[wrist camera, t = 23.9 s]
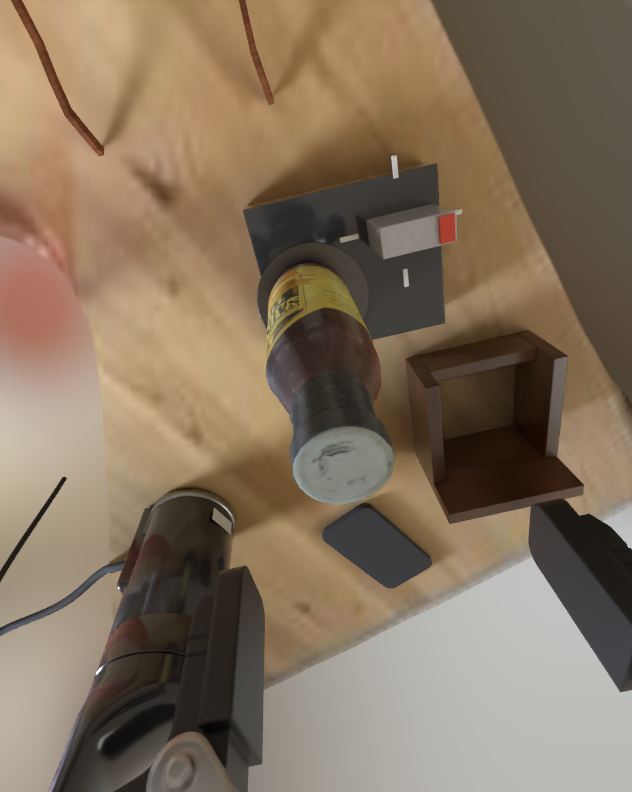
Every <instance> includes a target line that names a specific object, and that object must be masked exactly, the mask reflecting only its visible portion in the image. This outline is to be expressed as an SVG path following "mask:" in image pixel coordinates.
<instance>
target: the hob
mask: <svg viewBox="0 0 632 792" xmlns="http://www.w3.org/2000/svg"><path fill="white" fill-rule="evenodd" d="M391 161H392V171H389V172H385V173H381V174H377V175H373V176H368V177H364V178H360V179H356V180H352V181H348V182H344V183H339V184H335V185H331V186H327V187H323V188H319V189H314V190H310V191H306V192H302V193H298V194H294V195H290V196H285V197H281V198H277V199H273V200H269V201H265V202H260V203H256V204H252V205H248V206H245V208H244V210H243V212H244V216H245V220H246V223H247V227H248V231H249V234H250V238H251V242H252V245H253V249H254V252H255V256H256V260H257V263H258V267H259V271H260V274H261V277H262V275H263V273H264V271H265V269H266V268H267V266H268V265H269V264H270V262H271V261H272V260H273V259H274V258H275V257H276V256H278V255H279V254H280V253H281V252H283V251H284V250H286V249H288V248H290V247H292V246H295V245H298V244H302V243H308V242H319V243H326V244H329V245H333V246H335V247H337V248H339V249H341V250H343V251H344V252H346V253H347V254H348V255H350V256H351V257H352V258H353V259H354V260H355V261H356V263H357V264H358V266H359V267H360V268H361V270H362V272H363V274H364V277H365V279H366V283H367V287H368V305H367V310H366V313H365V316H364V318H363V322H364V324H365V326H366V328H367V330H368V332H369V334H370V336H371V339H372V340H373V339H378V338H382V337H386V336H391V335H395V334H399V333H404V332H408V331H412V330H417V329H421V328H425V327H430V326H434V325H438V324H443V323H445V306H444V287H443V268H442V249H441V246H438V247H433V248H429V249H425V250H421V251H417V252H413V253H408V254H404V255H400V256H396V257H392V258H388V259H383V258H382V257H380V256H379V255H378V254H377V253H376V252H375V251H374V250H373V249H371V248H370V246H369V239H368V231H367V224H366V220H367V219H371V218H375V217H379V216H384V215H388V214H392V213H396V212H400V211H404V210H408V209H412V208H417V207H421V206H425V205H429V204H435V205H439V192H438V172H437V164H436V163H422V164H418V165H414V166H410V167H406V168H402V169H398V164H397V155H394V156H391ZM461 214H462V209H458V210H456V215H461Z"/></svg>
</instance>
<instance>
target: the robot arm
mask: <svg viewBox="0 0 632 792" xmlns="http://www.w3.org/2000/svg"><path fill="white" fill-rule="evenodd" d="M66 479H67V478H66V477H62V479H61V480H60V482H59V483H58V485H57V486H56V488H55V489H54V491H53V493H52V494H51V496H50V497H49V499H48V500H47V501H46V503H45V504H44V506H43V507H42V509H41V510H40V512H39V513H38V514H37V516H36V518H35V519H34V520H33V522H32V523H31V525H30V526H29V528H28V529H27V531H26V532H25V534H24V535H23V536H22V538H21V539H20V541H19V542H18V544H17V545H16V547H15V549H14V550H13V552H12V553H11V555H10V556H9V558H8V559H7V561H6V562H5V564H4V566H3V567H2V569H1V570H0V582H1V580H2V579H3V577H4V575H5V574H6V572H7V570H8V568H9V567H10V566H11V564H12V562H13V560H14V559H15V558H16V556H17V554H18V553H19V551H20V550H21V548H22V546H23V545H24V544H25V542H26V540H27V539H28V537H29V536H30V534H31V533H32V531H33V530H34V528H35V527H36V525H37V524H38V522H39V521H40V519H41V518H42V516H43V515H44V513H45V512H46V510H47V509H48V507H49V506H50V504H51V503H52V501H53V499H54V498H55V497H56V495H57V494H58V492H59V491H60V489H61V487H62V486H63V484H64V483H65V481H66ZM235 521H236V519H235V514H234V511H233V509H232V507H231V506H230V505H229V504H228V503H227V502H226V501H225V500H224V499H223V498H221V497H220V496H218V495H216V494H214V493H212V492H209V491H205V490H200V489H182V490H177V491H173V492H171V493H168V494H166V495H164V496H163V497H161V498H160V499H159V500H158V501H157V502H156V503H155V504H154V506H153V507H151V508H148V509H145V510H144V512H143V515H142V518H141V520H140V523H139V526H138V528H137V531H136V534H135V537H134V539H133V542H132V545H131V547H130V550H129V553H128V555H127V558H126V560H125V561H122V562H119V563H115V564H109V565H106V566H104V567H102V568H101V569H99V570H98V571H96V572H95V573H94V574H93V575H92V576H90V577H89V578H88V579H87V580H86V581H85V582H84V583H83V584H82V585H81V586H80V587H79V588H77V589H76V590H75V591H74V592H72V593H71V594H70V595H68V596H67V597H66V598H64V599H63V600H61V601H59V602H58V603H56V604H54V605H52V606H50V607H48V608H46V609H43V610H41V611H39V612H36V613H34V614H31V615H29V616H26V617H24V618H21V619H19V620H16V621H14V622H11V623H9V624H7V625H5V626H3V627H1V628H0V636H1V635H3V634H5V633H7V632H9V631H11V630H13V629H15V628H18V627H20V626H22V625H25V624H28V623H30V622H33V621H35V620H38V619H40V618H43V617H45V616H47V615H50V614H52V613H54V612H56V611H58V610H59V609H62V608H63V607H65V606H67V605H68V604H70V603H71V602H73V601H74V600H75V599H77V598H78V597H79V596H80V595H82V594H83V593H84V592H85V591H86V590H87V589H88V588H89V587H91V586H92V585H93V584H94V583H95V582H96V581H97V580H98V579H100V578H101V577H102V576H104V575H105V574H107V573H112V572H117V571H120V570H122V572H121V574H120V577H119V580H118V583H117V586H118V589H119V590H120V592H121V593H122V595H123V597H122V600H121V603H120V606H119V609H118V612H117V614H116V617H115V620H114V623H113V626H112V629H111V632H110V635H109V638H108V642H107V644H106V647H105V650H104V653H103V656H102V659H101V662H100V665H99V668H98V671H97V673H96V676H95V678H94V681H93V684H92V687H91V689H90V692H89V695H88V698H87V699H86V702H85V703H84V705H83V707H82V709H81V711H80V713H79V714H78V716H77V719H76V721H75V723H74V726H73V728H72V731H71V733H70V736H69V739H68V741H67V744H66V747H65V750H64V752H63V755H62V758H61V760H60V763H59V765H58V768H57V771H56V773H55V776H54V778H53V781H52V783H51V786H50V788H49V791H48V792H247V790H248V767H249V766H254V765H259V764H262V742H263V690H264V636H265V615H264V607H263V602H262V599H261V596H260V594H259V592H258V589H257V587H256V585H255V583H254V580H253V578H252V576H251V574H250V571H249V569H248V567H247V566H242V567H237V568H232V569H230V561H231V551H232V542H233V536H234V531H235ZM529 548H530V551H531V554H532V557H533V559H534V561H535V563H536V564H537V566H538V567H539V569H540V570H541V572H542V573H543V575H544V576H545V578H546V580H547V581H548V583H549V584H550V586H551V587H552V589H553V590H554V592H555V593H556V594H557V596H558V598H559V599H560V601H561V602H562V604H563V605H564V607H565V608H566V610H567V611H568V613H569V615H570V616H571V618H572V619H573V621H574V622H575V624H576V625H577V627H578V628H579V630H580V631H581V633H582V634H583V636H584V637H585V639H586V640H587V642H588V643H589V645H590V647H591V648H592V649H593V651H594V653H595V654H596V655H597V657H598V659H599V660H600V662H601V663H602V665H603V666H604V668H605V669H606V671H607V672H608V674H609V675H610V677H611V678H612V680H613V682H614V683H615V685H616V686H617V688H618V689H619V691H620V692H623V691H629V690H632V549H631V548H628V547H627V544H626V543H625V542H624V541H623V540H622V538H621V537H620V536H619V535H618V534H617V533H616V532H615V531H614V530H613V529H612V528H611V527H610V526H608V525H607V524H605V523H603V522H602V521H600V520H599V519H597V518H595V517H594V516H592V515H590V514H586V515H581V516H579V515H578V514H577V513H576V511H575V510H574V509H573V508H572V507H571V506H570V505H569V503H568V502H567V501H565V500H564V499H561V498H559V499H555V500H550V501H545V502H541V503H536V504H533V505H532V506H531V513H530V527H529Z"/></svg>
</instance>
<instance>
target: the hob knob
mask: <svg viewBox="0 0 632 792" xmlns="http://www.w3.org/2000/svg"><path fill="white" fill-rule="evenodd" d="M366 224H367V231H368V239H369V246H370V248H371V249H373V250H374V251H375V252H376V253H377V254H378V255H379V256H380V257H382V258H383V259H388V258H392V257H396V256H400V255H404V254H408V253H413V252H417V251H421V250H425V249H429V248H433V247H438V246H442V245H446V244H450V243H454V242H457V224H456V210H454V209H450V208H446V207H442V206H439V205H435V204H429V205H425V206H421V207H417V208H412V209H408V210H404V211H400V212H396V213H392V214H388V215H384V216H379V217H375V218H371V219H367V220H366Z"/></svg>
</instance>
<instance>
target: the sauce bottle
mask: <svg viewBox="0 0 632 792" xmlns="http://www.w3.org/2000/svg"><path fill="white" fill-rule="evenodd" d="M266 378H267V382H268V385H269V387H270V389H271V390H272V392H273V393H274V394H275V395H276V396H277V398H278V399H279V401H280V402H281V403H282V405H283V406H284V408H285V409H286V411H287V412H288V413H289V415H290V419H291V422H292V424H293V439H292V442H291V445H290V457H291V464H292V471H293V476H294V479H295V481H296V482H297V485H298V487H299V488H300V489H301V490H303V491H304V492H305V493H306V494H307V495H309V496H310V497H312V498H314V499H315V500H317V501H320V502H325V503H328V504H348V503H352V502H358V501H360V500H362V499H364V498H367V497H370V496H371V495H372V494H374V493H375V492H377V491H379V490H380V489H381V488H382V487H383V486H384V484H385V483H386V482H387V481H388V479H389V478H390V475H391V473H392V469H393V466H394V462H395V457H394V451H393V448H392V445H391V441H390V439H389V437H388V434H387V432H386V429H385V427H384V426H383V424H382V423H381V422H380V420H378V419H377V418H376V416H375V412H374V409H373V403H374V401H375V400H376V398H377V396H378V393H379V390H380V388H381V367H380V362H379V358H378V355H377V353H376V350H375V349H374V346H373V341H372V339H371V336H370V334H369V332H368V330H367V328H366V326H365V324H364V322H363V320H362V318H361V316H360V314H359V311H358V309H357V307H356V305H355V303H354V301H353V299H352V297H351V295H350V293H349V290H348V288H347V286H346V285H345V284H344V282H343V281H342V280H341V279H340V278H339V276H338V275H337V274H335V273H334V272H333V271H331V270H330V269H328V268H326V267H324V266H322V265H319V264H316V263H304V264H299V265H297V266H294V267H292V268H289V269H288V270H286V271H285V272H284V273H283V274H282V275H281V276H280V278H279V280H278V281H277V283H276V284H275V285H274V287H273V289H272V291H271V294H270V298H269V303H268V327H267V354H266Z"/></svg>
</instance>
